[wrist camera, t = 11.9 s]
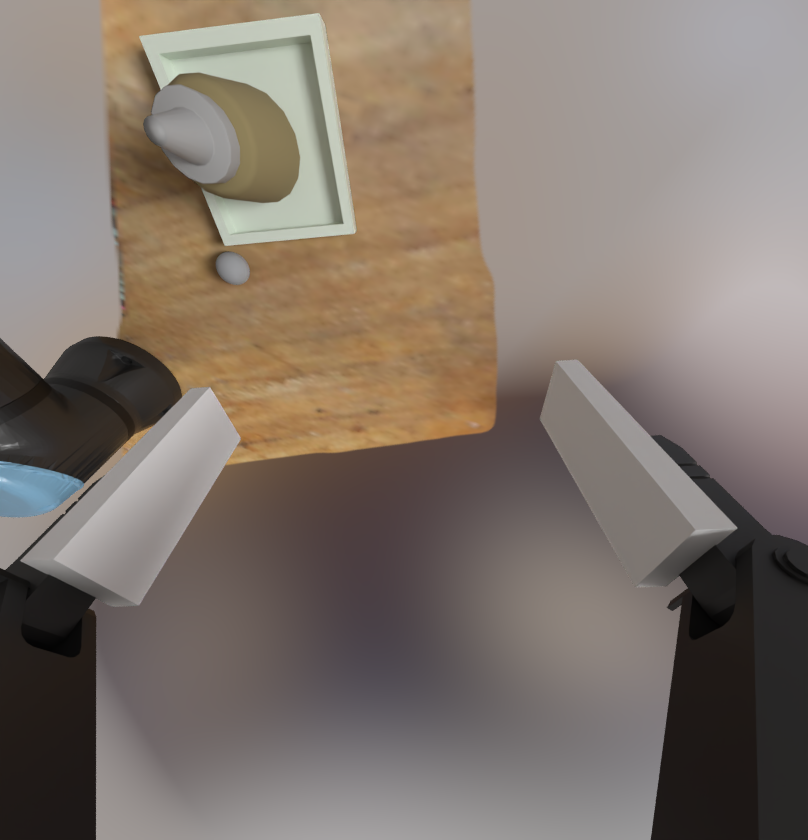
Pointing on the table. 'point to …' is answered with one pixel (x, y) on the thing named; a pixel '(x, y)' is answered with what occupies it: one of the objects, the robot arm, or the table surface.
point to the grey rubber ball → (232, 268)
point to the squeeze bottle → (225, 137)
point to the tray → (303, 106)
